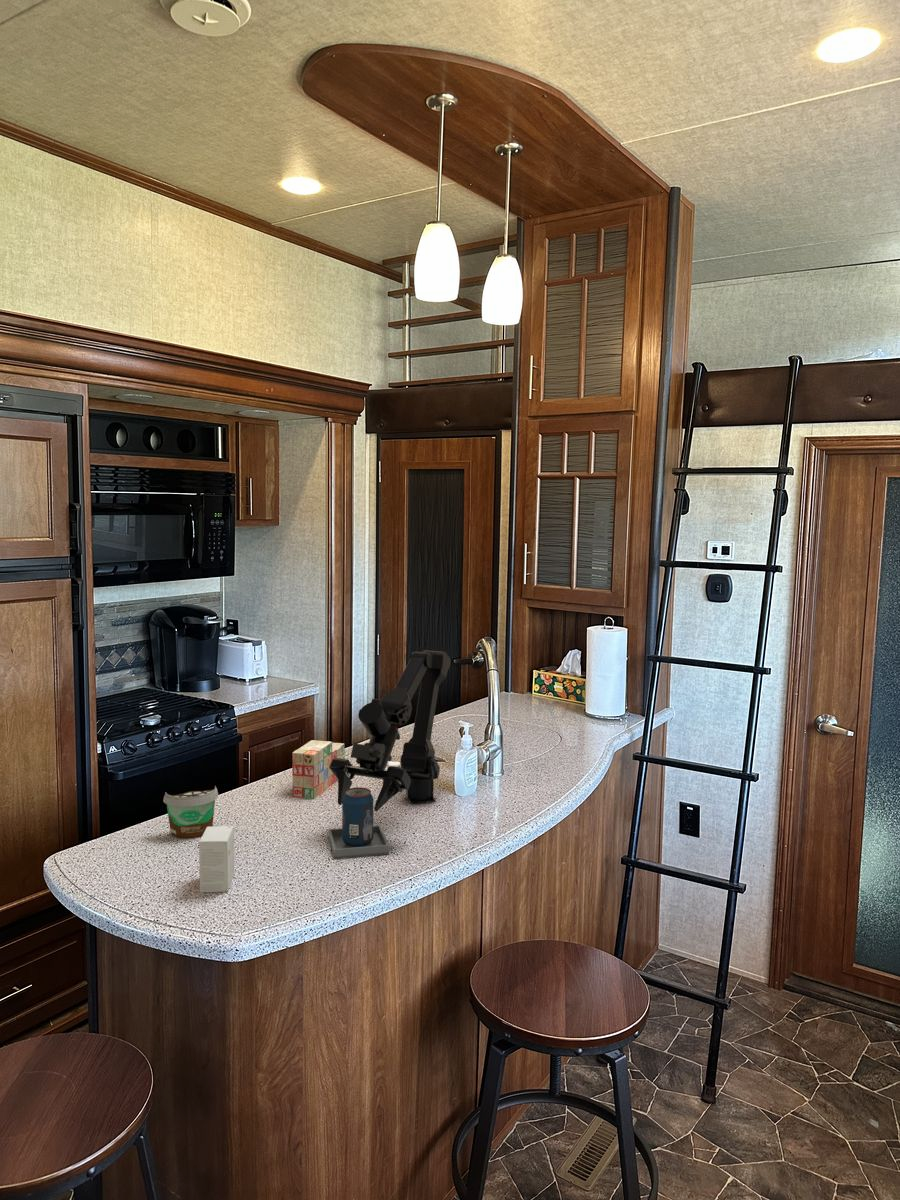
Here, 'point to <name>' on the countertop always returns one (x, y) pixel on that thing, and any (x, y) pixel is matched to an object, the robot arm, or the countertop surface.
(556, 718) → the countertop surface
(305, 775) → the stack of blocks
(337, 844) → the tray
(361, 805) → the soda can
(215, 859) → the small box
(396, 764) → the teacup and saucer
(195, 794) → the food container
